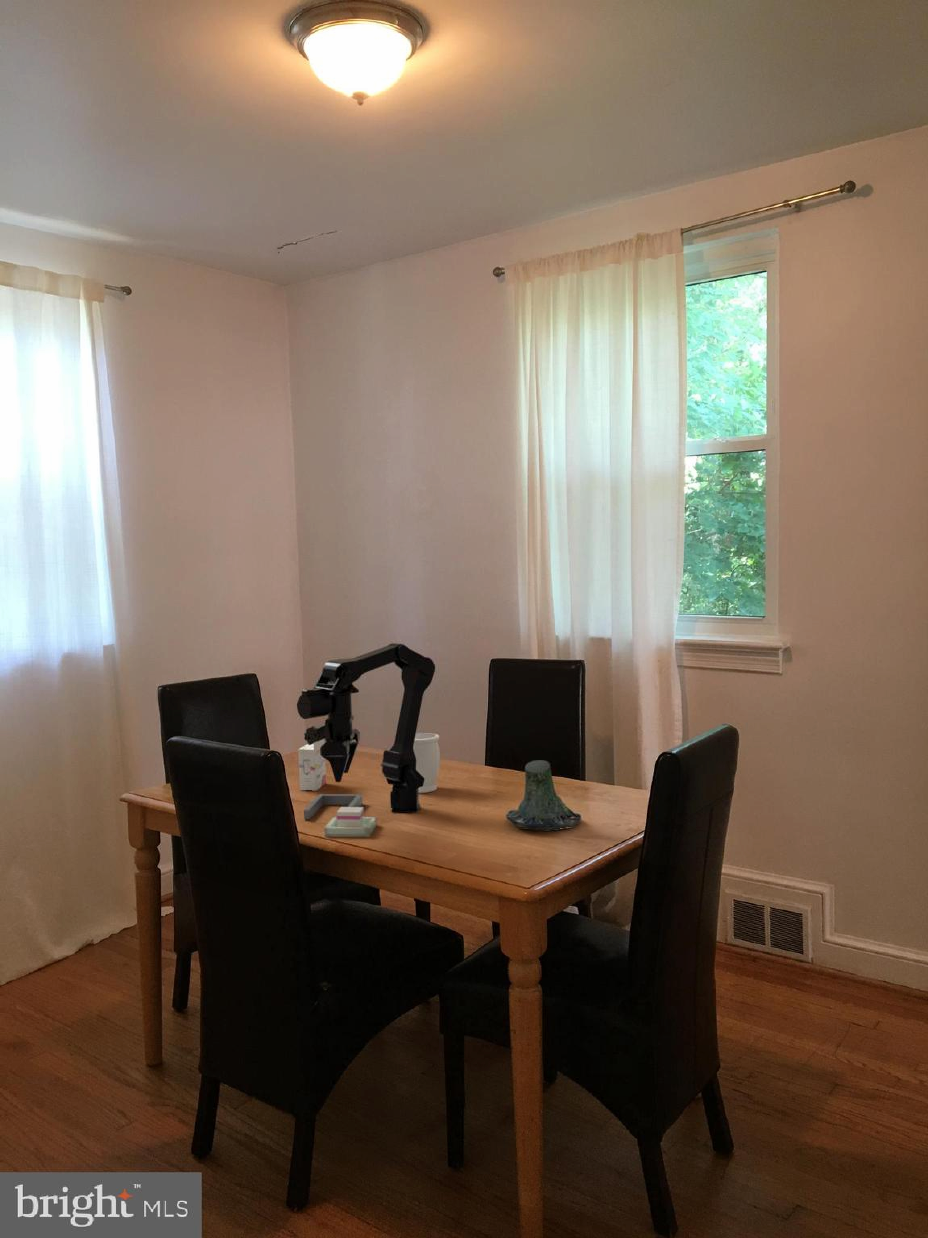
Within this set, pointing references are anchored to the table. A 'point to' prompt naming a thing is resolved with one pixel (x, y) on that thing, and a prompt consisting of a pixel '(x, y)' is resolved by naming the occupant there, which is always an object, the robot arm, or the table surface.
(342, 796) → the bay
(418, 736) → the jar
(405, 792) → the robot arm
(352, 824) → the white striped box
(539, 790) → the tree stump
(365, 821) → the tray
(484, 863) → the table surface
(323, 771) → the ink cartridge box
